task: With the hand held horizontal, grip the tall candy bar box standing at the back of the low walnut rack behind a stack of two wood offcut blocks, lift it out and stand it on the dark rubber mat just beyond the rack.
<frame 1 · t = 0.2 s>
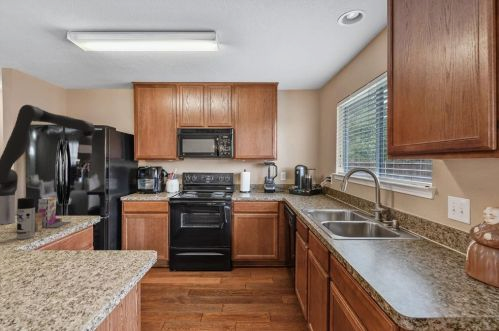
hand: (82, 177, 157), 28 cm above the countertop, tool pointing down, fingers open, 8 cm apart
rack: (43, 226, 145), on the countertop
spray can: (25, 238, 124), on the countertop
rubber mat: (58, 225, 149), on the countertop
candy bar box: (47, 225, 148), on the countertop
maple offcut: (34, 229, 139), on the countertop, touching cherry offcut
cherry offcut: (34, 221, 139), point 4 cm above the countertop, touching maple offcut
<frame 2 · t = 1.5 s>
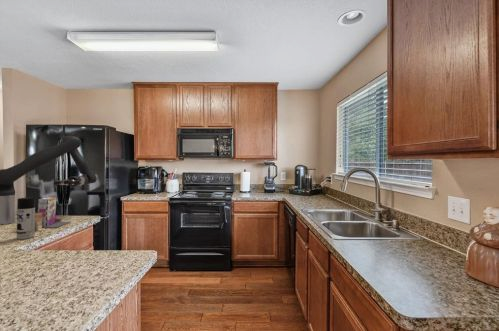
hand: (61, 183, 161), 24 cm above the countertop, tool horizontal, fingers open, 8 cm apart
nothing on the countertop moved.
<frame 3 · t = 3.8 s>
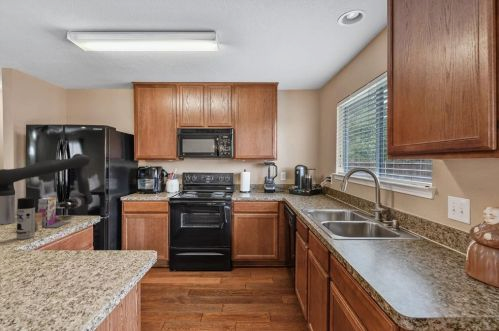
hand: (58, 207, 158), 9 cm above the countertop, tool horizontal, fingers open, 8 cm apart
nothing on the countertop moved.
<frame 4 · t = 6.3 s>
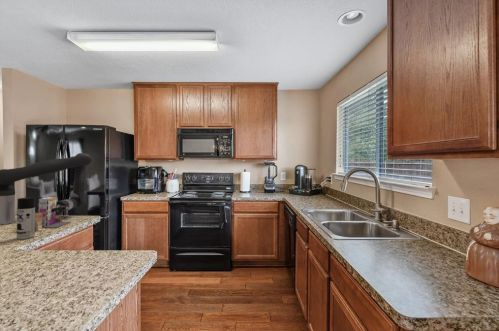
hand: (46, 210, 147), 9 cm above the countertop, tool horizontal, fingers closed on candy bar box, 5 cm apart
candy bar box: (47, 225, 148), on the countertop, touching gripper
everything else where it was.
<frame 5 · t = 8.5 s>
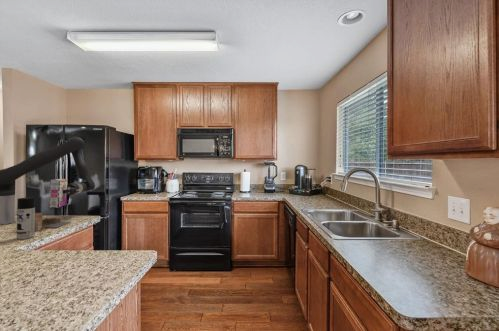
hand: (57, 191, 148), 20 cm above the countertop, tool horizontal, fingers closed on candy bar box, 5 cm apart
candy bar box: (58, 206, 149), point 11 cm above the countertop, touching gripper
everything else where it was.
when the fingers open (10 cm above the countertop, at t = 10.7 s): candy bar box stays where it is, resting on rubber mat.
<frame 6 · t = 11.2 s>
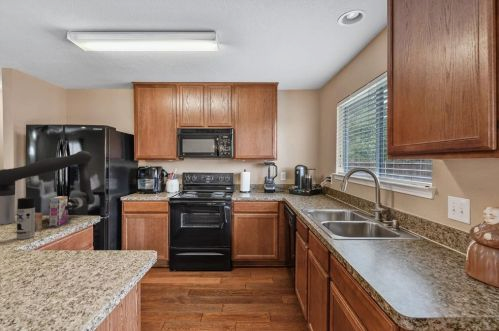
hand: (57, 208, 148), 10 cm above the countertop, tool horizontal, fingers open, 8 cm apart
candy bar box: (58, 224, 149), resting on rubber mat
everything else where it was.
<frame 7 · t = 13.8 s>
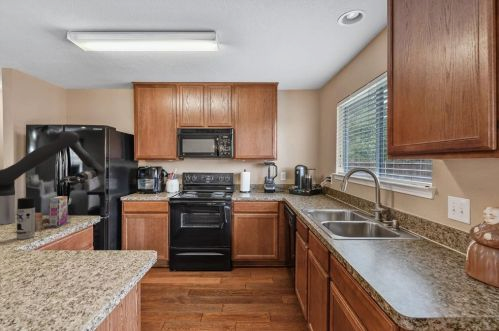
hand: (66, 182, 160), 25 cm above the countertop, tool horizontal, fingers open, 8 cm apart
nothing on the countertop moved.
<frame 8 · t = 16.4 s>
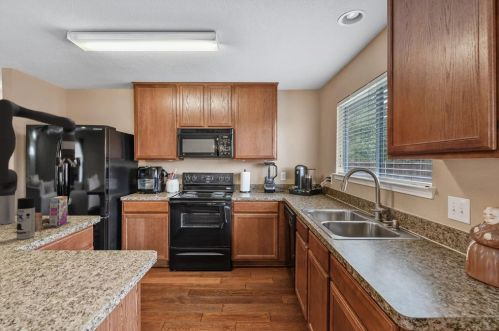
hand: (68, 172, 165), 31 cm above the countertop, tool pointing down, fingers open, 8 cm apart
nothing on the countertop moved.
at the end: candy bar box inside the target area (0.3 cm from its centre), resting on rubber mat; candy bar box tilted 0°; the gripper is holding nothing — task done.
